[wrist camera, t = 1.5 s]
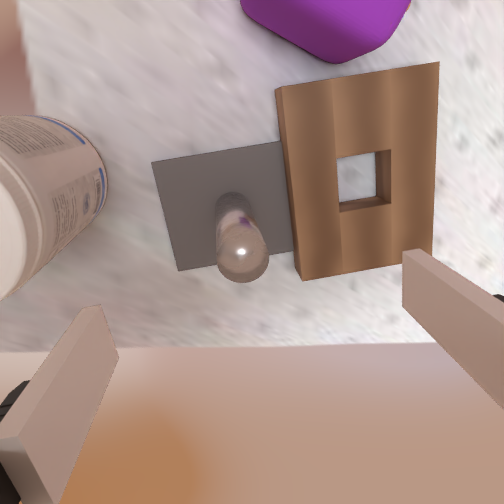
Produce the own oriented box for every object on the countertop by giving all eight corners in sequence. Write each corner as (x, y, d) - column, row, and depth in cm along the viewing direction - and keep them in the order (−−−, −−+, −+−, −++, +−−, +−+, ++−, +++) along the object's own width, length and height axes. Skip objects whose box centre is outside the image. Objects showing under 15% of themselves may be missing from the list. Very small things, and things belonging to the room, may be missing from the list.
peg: (219, 227, 32) (221, 287, 21) (212, 195, 31) (212, 239, 20) (252, 221, 32) (272, 277, 21) (246, 189, 31) (265, 229, 20)
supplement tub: (-40, 154, 28) (-280, 190, 14) (58, 91, 27) (-99, 64, 14) (45, 252, 32) (-84, 355, 18) (134, 198, 31) (70, 264, 17)
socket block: (295, 268, 35) (302, 281, 32) (274, 89, 29) (281, 86, 26) (414, 246, 35) (431, 257, 32) (417, 66, 29) (439, 61, 26)
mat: (178, 269, 33) (178, 271, 33) (151, 162, 30) (151, 162, 29) (303, 247, 34) (304, 248, 33) (292, 138, 30) (293, 139, 30)
